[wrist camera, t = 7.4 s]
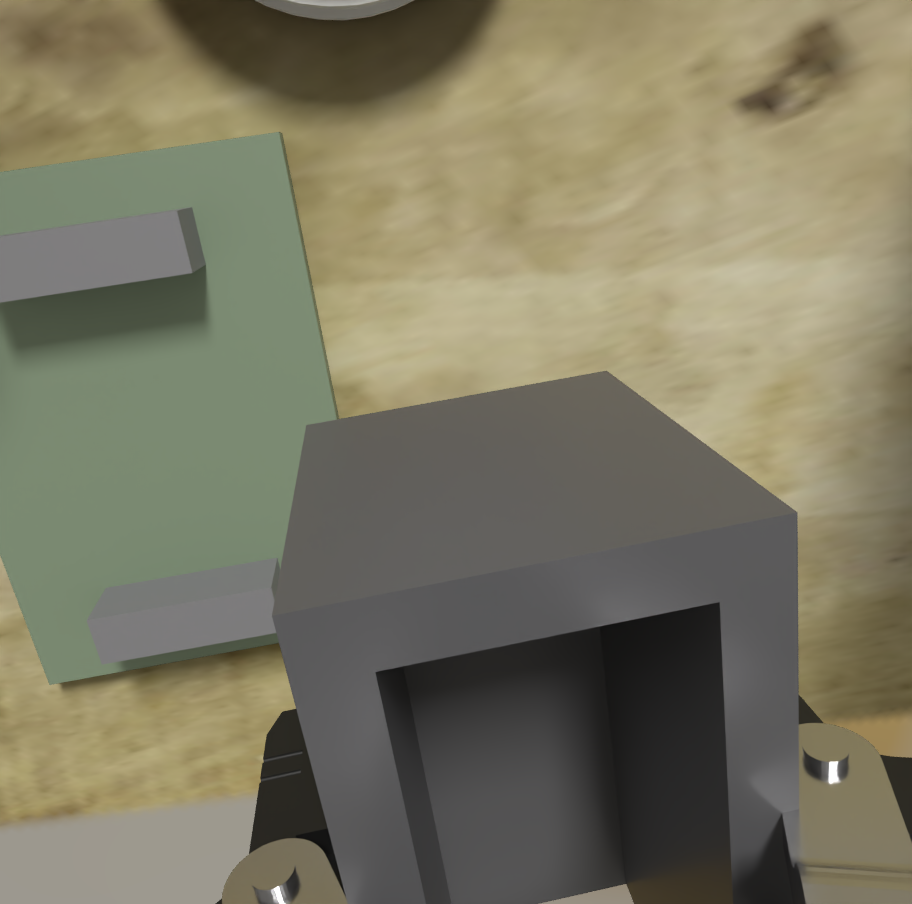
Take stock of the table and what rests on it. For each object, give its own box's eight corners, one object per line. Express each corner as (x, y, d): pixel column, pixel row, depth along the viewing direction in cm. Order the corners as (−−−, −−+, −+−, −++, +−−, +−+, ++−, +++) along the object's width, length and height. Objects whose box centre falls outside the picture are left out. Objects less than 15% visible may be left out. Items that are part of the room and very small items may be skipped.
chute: (306, 425, 13) (271, 615, 7) (606, 370, 13) (797, 513, 8) (410, 888, 16) (443, 1264, 11) (647, 835, 17) (801, 1172, 11)
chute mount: (-119, 190, 28) (-186, 194, 24) (282, 133, 29) (271, 128, 25) (59, 668, 35) (26, 723, 31) (377, 610, 36) (379, 658, 32)
